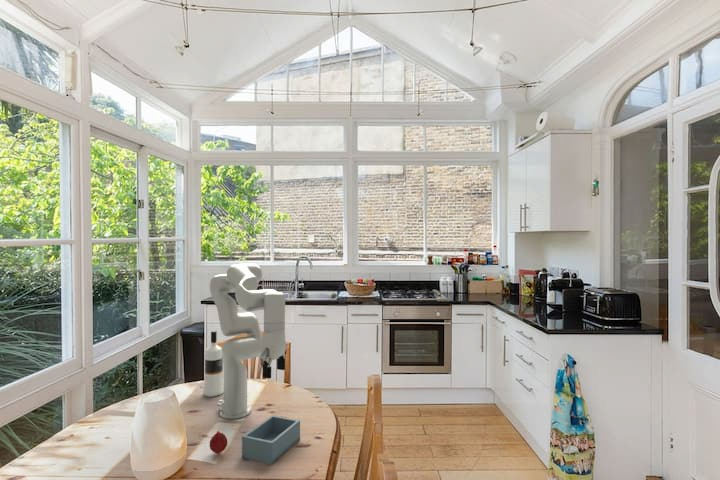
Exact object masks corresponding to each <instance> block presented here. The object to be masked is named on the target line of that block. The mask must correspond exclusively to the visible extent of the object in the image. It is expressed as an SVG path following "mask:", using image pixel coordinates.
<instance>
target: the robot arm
mask: <svg viewBox="0 0 720 480" xmlns="http://www.w3.org/2000/svg"><path fill="white" fill-rule="evenodd" d="M262 276H263V271H262V267H261V266H260V265H258V264H256V263H237V264H232V265H230V266H229V267H228V268H227V270H226V273H221V274H216V275H214V276H212V278H211V279H210V281H209V292H210V296H211V298H212V301H213V302H214V304H215V308H216V310H217V315H218V320H219V327H220V330H221V333H222V335H223V336H225V337H233V338H229V339H227V340H225V341H224V342H223V344H222V345H221V348H222V357H223V363H222V365H223V387H224V391H223V399H219V400H218V403H217V404H216V406H217V407H221V409H220V410H219V416H220V417H221V418H222V419H227V420H235V419H236V420H237V419H241V418H244V417H247V416H248V415H249V414H250V413H251V412H252V408H251V406H249V405H248V370H247V369H248V368H247V367H246V366H245V364H243V362H242V361H245V360H248V359H254V358H258V357H259V361H260V364H261V367H262V378H263V379H269V380H270V379H271V378H272V366H271V365H272V362H273V361H275V360H276V370H280V371H284V370H286V358H287V356H286V355H287V352H288V344H286V332H285V330H286V295H285V293H284V292H282V291H277V290H276V289H273V288H269V289H258V288H259V285H260V284H259V282H261V280H262V278H263V277H262ZM230 293H234V296H235V299H234V298H233V297H232V296H230V295H229V294H230ZM238 305H239V306H240V307H241V308H242V310H244V311H245V312H240V311H239V308H238ZM257 311H263V331H262V332H261V328H260V323H259V319H258V317H257V315H256V314H254V313H253V312H257ZM242 335H245V336H242ZM236 336H238V337H236ZM239 336H240V337H239ZM234 337H235V338H234Z"/></svg>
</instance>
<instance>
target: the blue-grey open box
mask: <svg viewBox="0 0 720 480" xmlns="http://www.w3.org/2000/svg"><path fill="white" fill-rule="evenodd" d="M300 440H301V419H295V418H290V417H284V416H278V415H274V414H273V415H271V416H269V417H268V418H267V419H265V420H263V421H262V422H260V423H259V424H258V425H256V426H255V427H254V428H252V429H251V430H250V431H248V432H247V433H245V434H244V435H241V458H242V459H246V460H252V461H255V462H260V463H264V464H268V465H274V464H275V463H276V462H277V461H278V460H279V459H280V458H282V457H283V456H284V455H285V454H286V453H287V452H288V451H289V450H290V449H292V447H294V446H295V445H297V443H298V442H299V441H300Z"/></svg>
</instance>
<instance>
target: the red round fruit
mask: <svg viewBox="0 0 720 480" xmlns="http://www.w3.org/2000/svg"><path fill="white" fill-rule="evenodd" d="M228 443H229V442H228V437H227V436H226V435H225V434H224V432H221V431H220V429H217V431H216V433H215V434H213V435H212V437H211V438H210V440H209V444H208V445H209V448H210V450H211V451H212V452H213V453H214V454H216V455H221V453H222V452H224V451H225V449H227V447H228Z"/></svg>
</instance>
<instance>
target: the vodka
mask: <svg viewBox="0 0 720 480" xmlns="http://www.w3.org/2000/svg"><path fill="white" fill-rule="evenodd" d="M217 333H218V332H217V330H212V331H210V345H209V346H208V347H206V348H205V350H204V353H203V354H204V374H203V375H204V383H203V384H204V387H203V389H202V390H203V391H202V392H203V393H202V394H203V395H204V396H205V397H207V398H213V397H219V396H220V395H222V394H224V378H223V376H224V370H223V357H222V346H220V345H218V343H217V339H218V337H217V335H218V334H217ZM218 395H219V396H218Z"/></svg>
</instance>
